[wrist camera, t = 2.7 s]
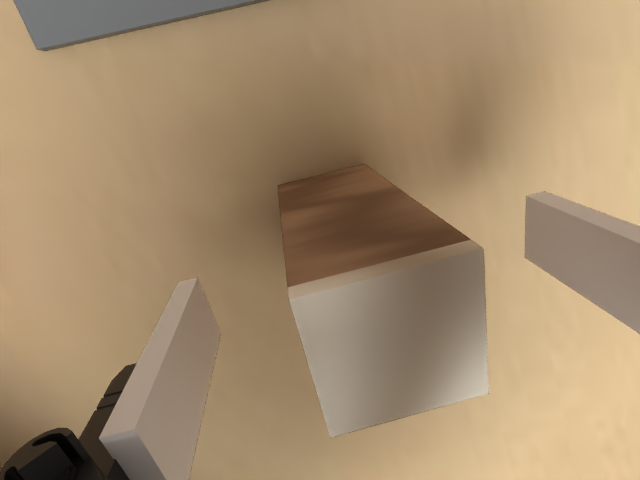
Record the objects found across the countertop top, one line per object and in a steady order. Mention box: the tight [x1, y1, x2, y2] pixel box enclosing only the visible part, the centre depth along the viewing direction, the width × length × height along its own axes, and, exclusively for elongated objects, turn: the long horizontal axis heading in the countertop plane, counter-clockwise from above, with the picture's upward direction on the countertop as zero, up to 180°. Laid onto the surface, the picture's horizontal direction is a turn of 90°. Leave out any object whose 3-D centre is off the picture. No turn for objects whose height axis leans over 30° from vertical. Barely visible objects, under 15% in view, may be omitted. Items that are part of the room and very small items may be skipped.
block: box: [278, 164, 489, 438], centre depth 15 cm, size 5×5×12 cm
